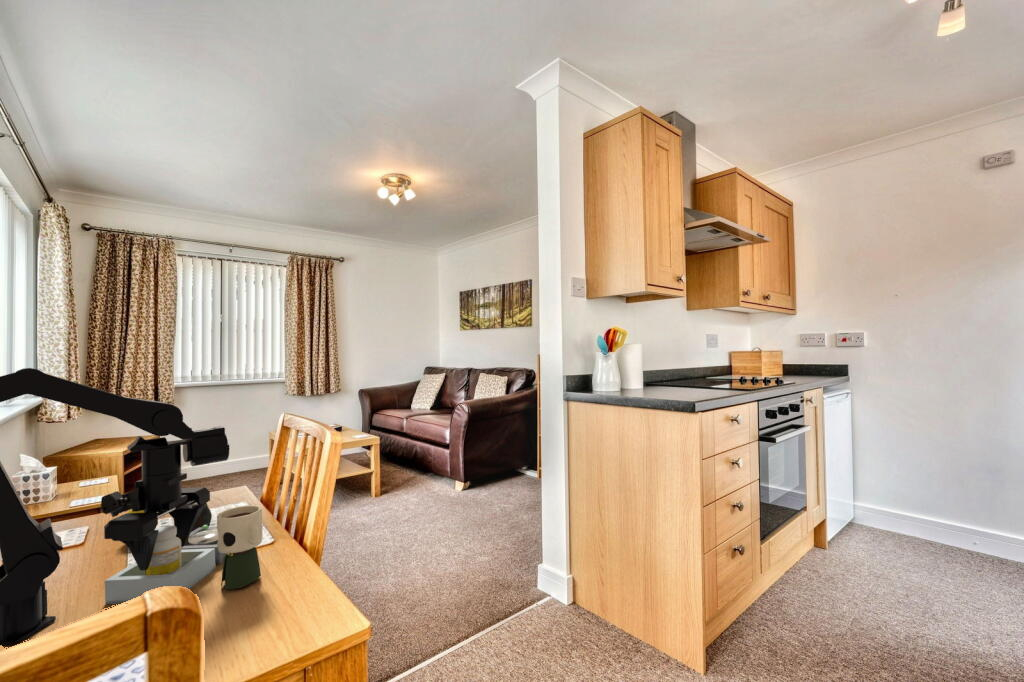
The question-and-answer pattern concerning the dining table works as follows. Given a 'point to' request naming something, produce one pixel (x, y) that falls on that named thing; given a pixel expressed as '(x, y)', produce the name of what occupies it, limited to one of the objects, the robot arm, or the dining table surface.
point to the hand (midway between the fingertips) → (163, 557)
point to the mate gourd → (203, 518)
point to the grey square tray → (218, 556)
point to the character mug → (240, 544)
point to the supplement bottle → (165, 552)
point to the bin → (159, 576)
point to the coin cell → (204, 538)
